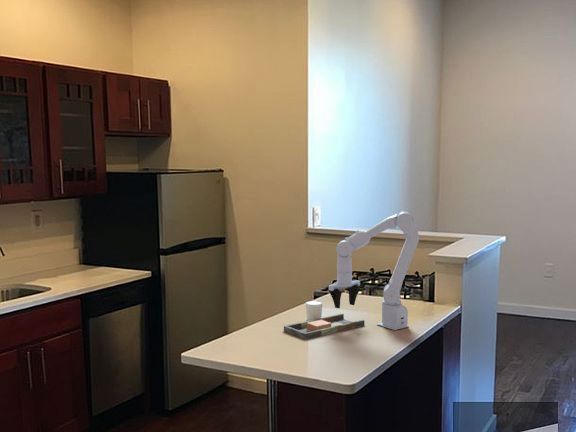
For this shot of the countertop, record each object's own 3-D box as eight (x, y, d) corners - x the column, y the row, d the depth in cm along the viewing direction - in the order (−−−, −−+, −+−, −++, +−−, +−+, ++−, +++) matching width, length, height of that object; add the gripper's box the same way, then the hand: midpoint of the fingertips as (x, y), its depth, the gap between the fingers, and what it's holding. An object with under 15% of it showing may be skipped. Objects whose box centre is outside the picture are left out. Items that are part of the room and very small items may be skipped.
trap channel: (364, 325, 234) (364, 320, 234) (305, 339, 217) (305, 333, 216) (342, 318, 244) (342, 313, 244) (283, 331, 227) (283, 326, 227)
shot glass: (321, 322, 239) (321, 305, 238) (304, 321, 240) (303, 304, 239) (323, 318, 245) (323, 300, 245) (307, 317, 247) (306, 300, 246)
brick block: (331, 330, 228) (331, 323, 228) (316, 334, 224) (316, 326, 224) (321, 327, 233) (321, 319, 233) (306, 330, 229) (306, 322, 229)
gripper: (351, 268, 242) (351, 301, 243) (323, 272, 233) (323, 307, 235) (363, 270, 236) (363, 304, 238) (335, 275, 228) (335, 310, 229)
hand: (344, 306), depth 236 cm, fingers open, 7 cm apart
